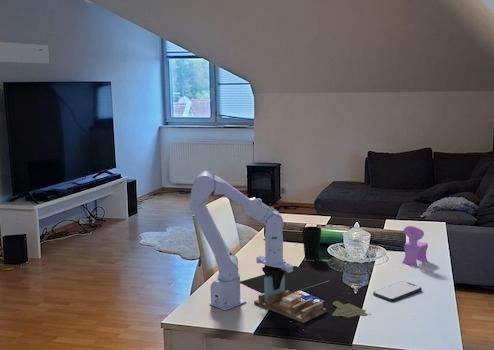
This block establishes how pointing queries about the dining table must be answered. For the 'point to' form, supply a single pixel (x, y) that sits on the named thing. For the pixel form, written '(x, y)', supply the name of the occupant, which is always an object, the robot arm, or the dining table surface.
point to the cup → (311, 242)
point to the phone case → (397, 291)
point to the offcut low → (289, 304)
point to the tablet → (289, 280)
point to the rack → (297, 312)
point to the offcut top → (291, 298)
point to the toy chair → (414, 246)
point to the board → (269, 287)
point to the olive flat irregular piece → (347, 310)
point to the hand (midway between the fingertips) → (274, 288)
